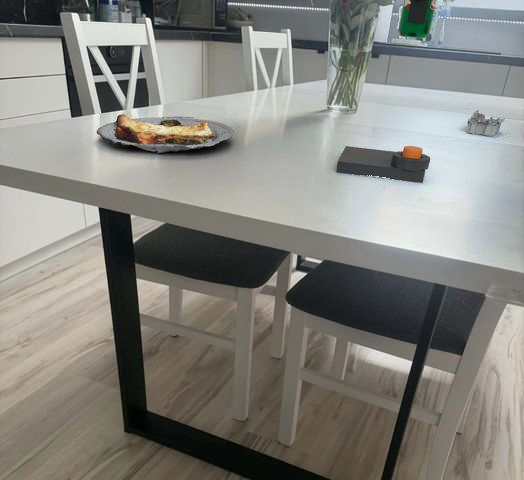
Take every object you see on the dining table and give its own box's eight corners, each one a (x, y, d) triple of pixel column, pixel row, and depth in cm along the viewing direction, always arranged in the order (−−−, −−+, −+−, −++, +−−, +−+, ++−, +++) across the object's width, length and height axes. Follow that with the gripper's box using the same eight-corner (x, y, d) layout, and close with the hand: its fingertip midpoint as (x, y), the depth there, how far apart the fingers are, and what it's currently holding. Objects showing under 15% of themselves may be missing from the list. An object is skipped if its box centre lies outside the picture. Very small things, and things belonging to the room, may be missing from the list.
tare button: (420, 157, 79) (422, 147, 78) (420, 161, 76) (423, 151, 76) (401, 154, 79) (403, 144, 78) (401, 159, 77) (403, 148, 76)
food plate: (83, 153, 81) (80, 131, 79) (114, 126, 100) (112, 107, 98) (232, 161, 82) (233, 139, 80) (234, 132, 101) (235, 114, 99)
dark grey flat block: (423, 166, 87) (428, 145, 85) (425, 184, 77) (430, 162, 75) (344, 156, 89) (347, 136, 87) (335, 173, 79) (338, 151, 77)
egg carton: (471, 127, 124) (476, 109, 121) (502, 131, 120) (508, 113, 118) (461, 132, 116) (466, 113, 114) (493, 137, 113) (499, 118, 111)
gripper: (495, -212, 57) (441, 25, 70) (481, -165, 71) (438, 24, 85) (430, -211, 58) (389, 21, 72) (429, -165, 73) (395, 21, 86)
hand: (415, 22), depth 78 cm, fingers closed on soda can, 5 cm apart
